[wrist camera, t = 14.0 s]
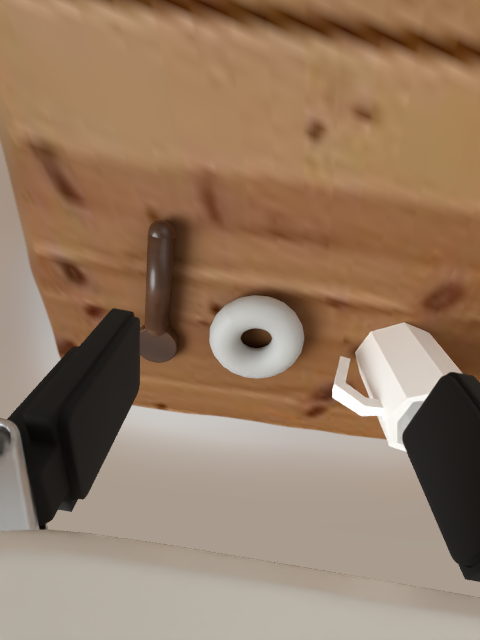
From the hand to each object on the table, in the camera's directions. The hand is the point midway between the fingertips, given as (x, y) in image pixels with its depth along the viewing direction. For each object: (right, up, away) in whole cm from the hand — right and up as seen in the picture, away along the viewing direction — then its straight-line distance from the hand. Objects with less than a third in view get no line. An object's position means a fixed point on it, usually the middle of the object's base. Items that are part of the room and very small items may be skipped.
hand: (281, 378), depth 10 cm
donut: (0, +1, +25) cm, 25 cm away
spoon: (-10, +4, +24) cm, 26 cm away
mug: (+14, -2, +26) cm, 29 cm away
